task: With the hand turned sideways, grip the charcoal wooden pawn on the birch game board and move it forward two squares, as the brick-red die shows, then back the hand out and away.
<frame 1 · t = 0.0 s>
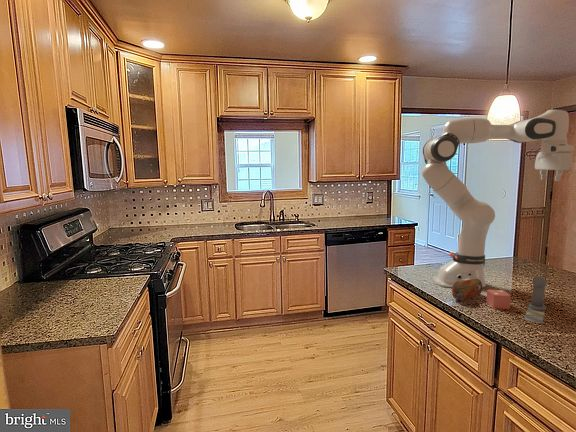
hand: (550, 180, 153), 48 cm above the countertop, tool pointing down, fingers open, 8 cm apart
die: (497, 307, 136), on the countertop
board: (535, 315, 128), on the countertop
pawn: (536, 308, 133), point 1 cm above the countertop, touching board
tin: (466, 299, 145), on the countertop
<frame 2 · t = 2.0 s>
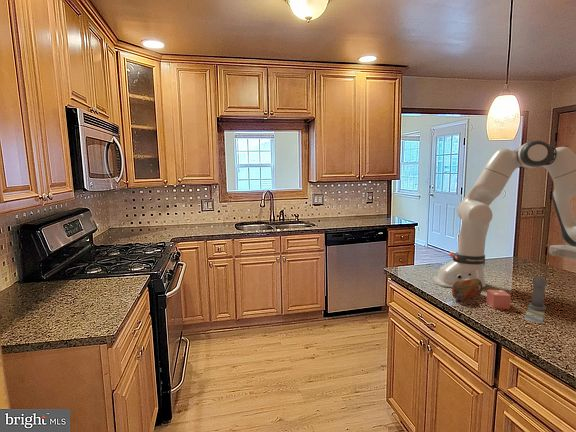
hand: (565, 256, 134), 20 cm above the countertop, tool horizontal, fingers open, 8 cm apart
nothing on the countertop moved.
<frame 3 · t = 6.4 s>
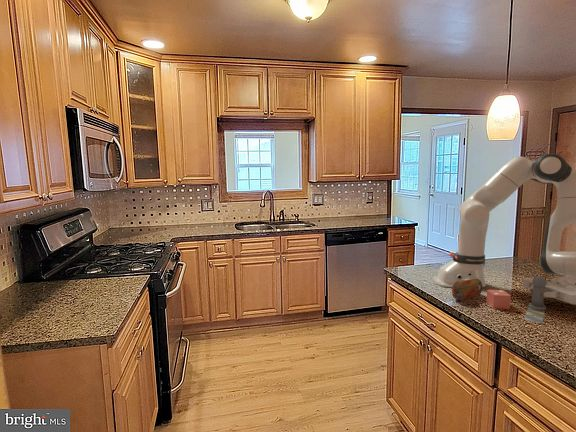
hand: (536, 292, 132), 7 cm above the countertop, tool horizontal, fingers closed on pawn, 4 cm apart
pawn: (536, 308, 133), point 1 cm above the countertop, touching board, gripper
everything else where it was.
when the fingers open (9 cm above the countertop, at t = 11.3 s): pawn drops 1 cm, resting on board.
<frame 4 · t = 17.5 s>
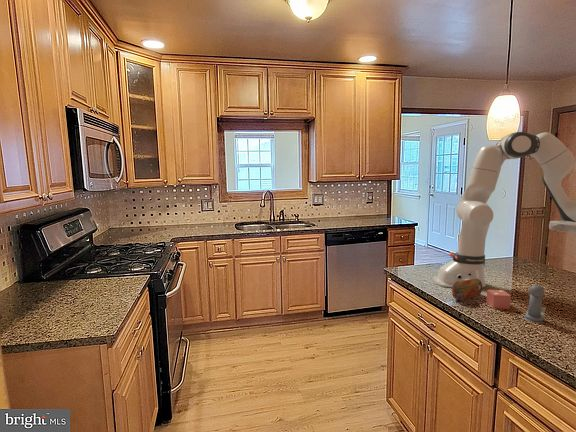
hand: (565, 229, 134), 30 cm above the countertop, tool horizontal, fingers open, 8 cm apart
pawn: (533, 318, 124), point 1 cm above the countertop, touching board
everything else where it was.
at the end: pawn 0.0 cm from the target spot, point 0.9 cm above the countertop; pawn tilted 0°; the gripper is holding nothing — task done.
